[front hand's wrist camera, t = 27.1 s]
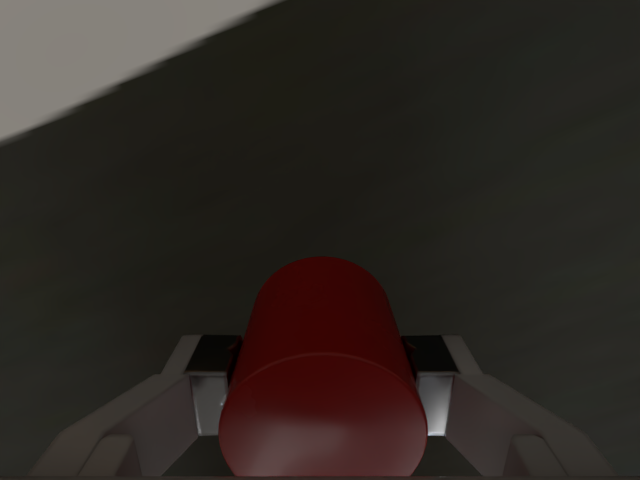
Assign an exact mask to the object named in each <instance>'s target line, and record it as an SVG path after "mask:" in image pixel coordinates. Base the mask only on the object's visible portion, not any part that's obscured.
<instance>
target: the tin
mask: <svg viewBox="0 0 640 480" xmlns="http://www.w3.org/2000/svg"><path fill="white" fill-rule="evenodd" d="M218 436H219V444H220V448H221V451H222V454H223V457H224V459H225V461H226V463H227V465H228V467H229V468H230V469H231V471H232V472H233V474H234V475H235V476H411V475H412V474H413V472H414V471H415V469H416V468H417V466H418V465H419V463H420V461H421V459H422V457H423V455H424V452H425V448H426V445H427V438H428V421H427V417H426V413H425V409H424V406H423V403H422V400H421V397H420V394H419V391H418V388H417V385H416V382H415V379H414V376H413V373H412V370H411V367H410V364H409V361H408V358H407V355H406V352H405V349H404V346H403V343H402V340H401V337H400V334H399V331H398V328H397V324H396V321H395V318H394V315H393V312H392V309H391V306H390V303H389V300H388V298H387V295H386V293H385V291H384V289H383V288H382V286H381V285H380V283H379V282H378V281H377V280H376V278H374V277H373V276H372V275H371V274H370V273H369V272H368V271H366V270H365V269H363V268H362V267H360V266H358V265H356V264H354V263H352V262H349V261H347V260H343V259H339V258H334V257H310V258H305V259H301V260H297V261H295V262H292V263H290V264H288V265H286V266H284V267H282V268H281V269H279V270H278V271H277V272H275V273H274V274H273V275H272V276H271V277H270V278H269V279H268V280H267V281H266V282H265V283H264V285H263V286H262V288H261V289H260V291H259V293H258V295H257V298H256V300H255V303H254V307H253V310H252V313H251V316H250V320H249V323H248V326H247V329H246V333H245V336H244V339H243V342H242V346H241V349H240V352H239V355H238V359H237V362H236V365H235V368H234V372H233V375H232V378H231V381H230V385H229V388H228V391H227V394H226V398H225V401H224V404H223V407H222V411H221V414H220V419H219V424H218Z"/></svg>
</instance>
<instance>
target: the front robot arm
mask: <svg viewBox="0 0 640 480" xmlns="http://www.w3.org/2000/svg"><path fill="white" fill-rule="evenodd" d="M401 340H402V343H403V346H404V349H405V352H406V355H407V358H408V361H409V364H410V367H411V370H412V373H413V376H414V379H415V382H416V385H417V388H418V391H419V394H420V397H421V400H422V403H423V406H424V409H425V413H426V417H427V421H428V435H436V436H446V439H447V440H448V441H449V442H450V443H451V444H452V445H453V446H454V447H455V448H456V449H457V450H458V451H459V452H460V453H461V454H462V455H463V456H464V457H465V458H466V459H467V460H468V461H469V462H470V463H471V464H472V465H473V466H474V467H475V468H476V469H477V470H478V471H479V472H480V473H481V474H482V475H483V476H161V475H162V474H163V473H164V472H165V471H166V470H167V469H168V468H169V467H170V466H171V465H172V464H173V463H174V462H175V461H176V460H177V459H178V458H179V457H180V456H181V455H182V454H183V453H184V452H185V451H186V450H187V448H188V447H189V446H190V445H191V444H192V443H193V442H194V441H195V440H196V439H197V438H198V436H207V435H218V424H219V419H220V414H221V411H222V407H223V404H224V401H225V398H226V394H227V391H228V388H229V385H230V381H231V378H232V375H233V372H234V368H235V365H236V362H237V359H238V355H239V352H240V349H241V346H242V342H243V340H242V337H241V335H184V336H182V337H181V339H180V340H179V342H178V344H177V346H176V347H175V349H174V351H173V352H172V354H171V356H170V358H169V359H168V361H167V363H166V365H165V366H164V368H163V370H162V372H161V373H160V374H154V375H152V376H151V377H149V378H147V379H146V380H144V381H143V382H141V383H139V384H138V385H136V386H134V387H133V388H131V389H130V390H128V391H126V392H125V393H123V394H121V395H120V396H118V397H116V398H115V399H113V400H112V401H110V402H108V403H107V404H105V405H103V406H102V407H100V408H98V409H97V410H95V411H94V412H92V413H90V414H89V415H87V416H85V417H84V418H82V419H80V420H79V421H77V422H76V423H74V424H72V425H71V426H69V427H67V428H66V429H64V430H63V431H61V432H59V434H58V435H57V436H56V438H55V439H54V440H53V442H52V443H51V444H50V445H49V447H48V448H47V449H46V451H45V452H44V453H43V454H42V456H41V457H40V458H39V460H38V461H37V462H36V464H35V465H34V466H33V467H32V469H31V470H30V471H29V473H28V474H27V475H26V476H0V480H640V476H619V475H618V474H617V473H616V471H615V470H614V469H613V467H612V466H611V465H610V464H609V462H608V461H607V460H606V458H605V457H604V456H603V455H602V453H601V452H600V451H599V449H598V448H597V447H596V446H595V444H594V443H593V442H592V440H591V439H590V438H589V437H588V435H587V434H586V433H585V432H583V431H582V430H580V429H578V428H577V427H575V426H573V425H572V424H570V423H569V422H567V421H565V420H564V419H562V418H560V417H559V416H557V415H555V414H554V413H552V412H550V411H549V410H547V409H546V408H544V407H542V406H541V405H539V404H537V403H536V402H534V401H532V400H531V399H529V398H527V397H526V396H524V395H522V394H521V393H519V392H518V391H516V390H514V389H513V388H511V387H509V386H508V385H506V384H504V383H503V382H501V381H499V380H498V379H496V378H495V377H493V376H491V375H490V374H483V372H482V371H481V369H480V367H479V366H478V364H477V362H476V361H475V359H474V357H473V356H472V354H471V352H470V351H469V349H468V347H467V345H466V344H465V342H464V340H463V339H462V337H461V336H460V335H458V334H452V335H427V336H401Z"/></svg>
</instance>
